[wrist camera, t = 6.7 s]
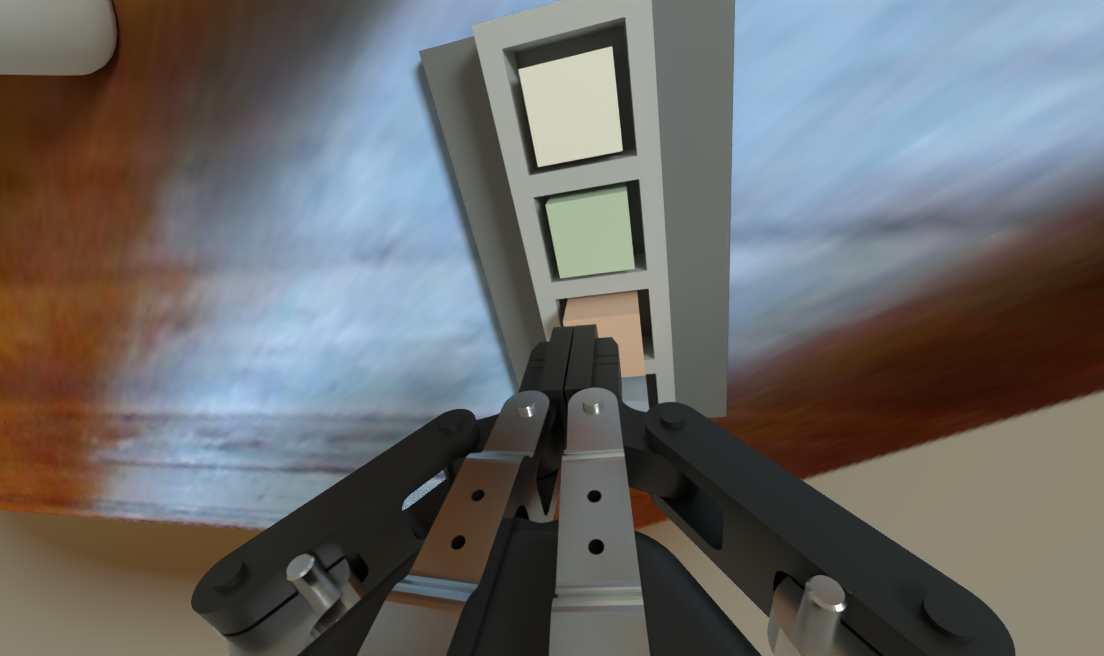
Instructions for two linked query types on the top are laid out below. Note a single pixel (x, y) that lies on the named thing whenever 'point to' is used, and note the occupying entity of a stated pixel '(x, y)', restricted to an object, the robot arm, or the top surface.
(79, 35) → the milk bottle
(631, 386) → the key slate
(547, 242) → the keypad
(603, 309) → the block
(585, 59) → the key ivory
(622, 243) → the key sage
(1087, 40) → the top surface
